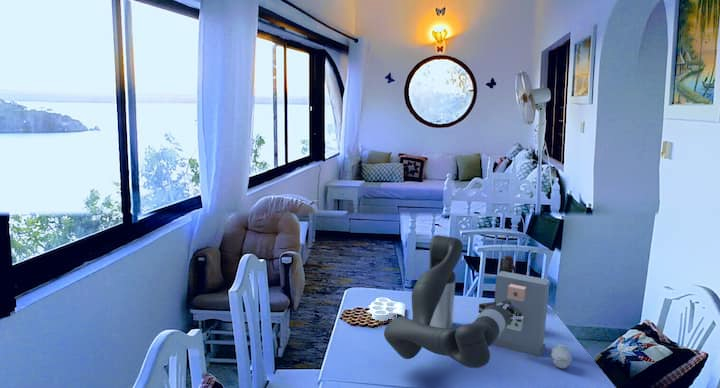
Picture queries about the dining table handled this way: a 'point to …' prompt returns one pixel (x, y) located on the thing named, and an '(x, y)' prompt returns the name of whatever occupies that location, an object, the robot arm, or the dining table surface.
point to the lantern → (507, 263)
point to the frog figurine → (561, 356)
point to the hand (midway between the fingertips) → (507, 303)
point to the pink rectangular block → (516, 292)
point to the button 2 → (516, 325)
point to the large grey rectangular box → (524, 312)
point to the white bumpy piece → (386, 309)
